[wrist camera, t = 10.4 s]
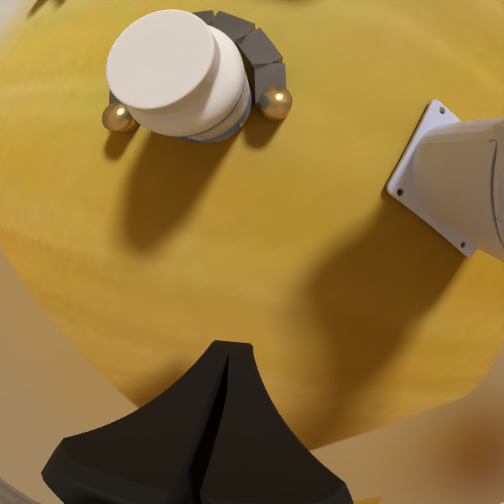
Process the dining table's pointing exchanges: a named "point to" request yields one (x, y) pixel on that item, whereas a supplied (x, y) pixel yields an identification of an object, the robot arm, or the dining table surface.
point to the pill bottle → (180, 77)
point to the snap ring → (254, 53)
